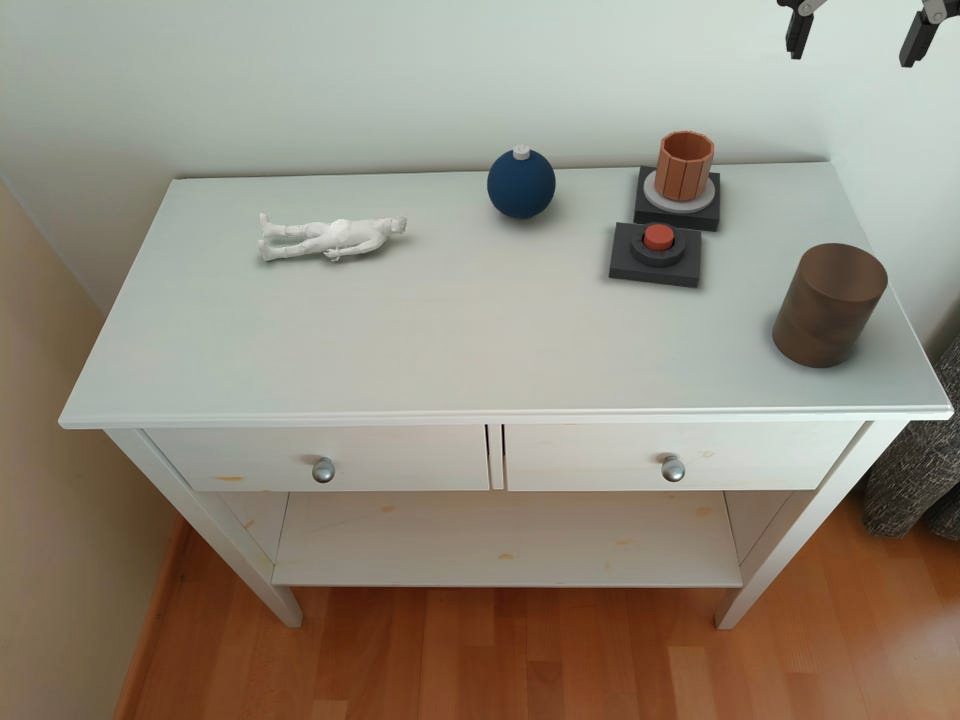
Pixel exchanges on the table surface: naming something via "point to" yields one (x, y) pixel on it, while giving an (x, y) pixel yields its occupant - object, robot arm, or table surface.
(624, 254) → the red push button box
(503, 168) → the christmas ornament
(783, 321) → the stand
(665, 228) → the button
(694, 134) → the orange wooden cup
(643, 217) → the scale
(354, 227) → the figurine
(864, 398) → the table surface
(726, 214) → the table surface
